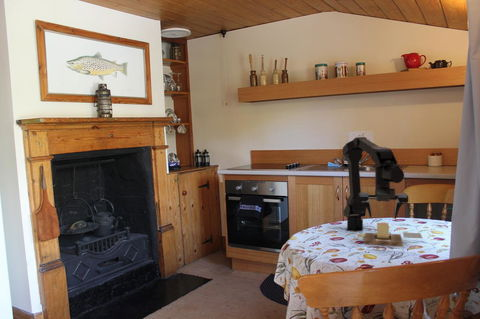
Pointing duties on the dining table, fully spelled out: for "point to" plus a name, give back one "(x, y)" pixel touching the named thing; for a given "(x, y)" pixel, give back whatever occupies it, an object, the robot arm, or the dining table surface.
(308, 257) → the dining table surface
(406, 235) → the grey square plate
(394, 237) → the rack plate
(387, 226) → the peg block
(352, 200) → the robot arm
